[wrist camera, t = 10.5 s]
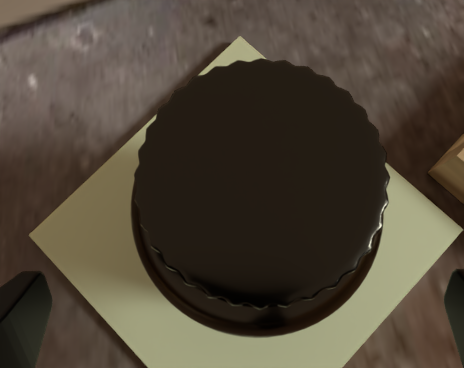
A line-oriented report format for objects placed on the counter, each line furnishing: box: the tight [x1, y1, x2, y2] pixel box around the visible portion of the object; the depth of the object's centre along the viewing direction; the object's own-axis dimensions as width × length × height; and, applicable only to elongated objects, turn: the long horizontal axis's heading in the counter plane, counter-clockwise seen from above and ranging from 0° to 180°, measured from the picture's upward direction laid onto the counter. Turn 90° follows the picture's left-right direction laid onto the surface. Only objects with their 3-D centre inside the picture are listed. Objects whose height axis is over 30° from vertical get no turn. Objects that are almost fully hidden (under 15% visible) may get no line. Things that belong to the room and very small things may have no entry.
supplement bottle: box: [130, 58, 390, 338], centre depth 14 cm, size 7×7×12 cm
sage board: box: [29, 36, 463, 368], centre depth 20 cm, size 14×14×1 cm
